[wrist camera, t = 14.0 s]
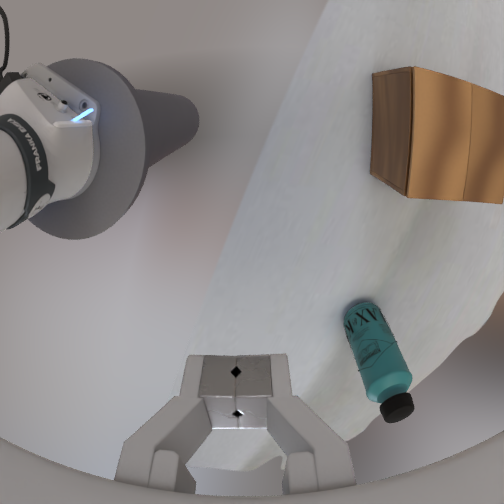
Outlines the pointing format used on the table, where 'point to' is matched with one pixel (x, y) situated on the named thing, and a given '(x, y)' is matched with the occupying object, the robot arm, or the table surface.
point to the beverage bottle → (379, 361)
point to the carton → (400, 137)
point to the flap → (439, 136)
